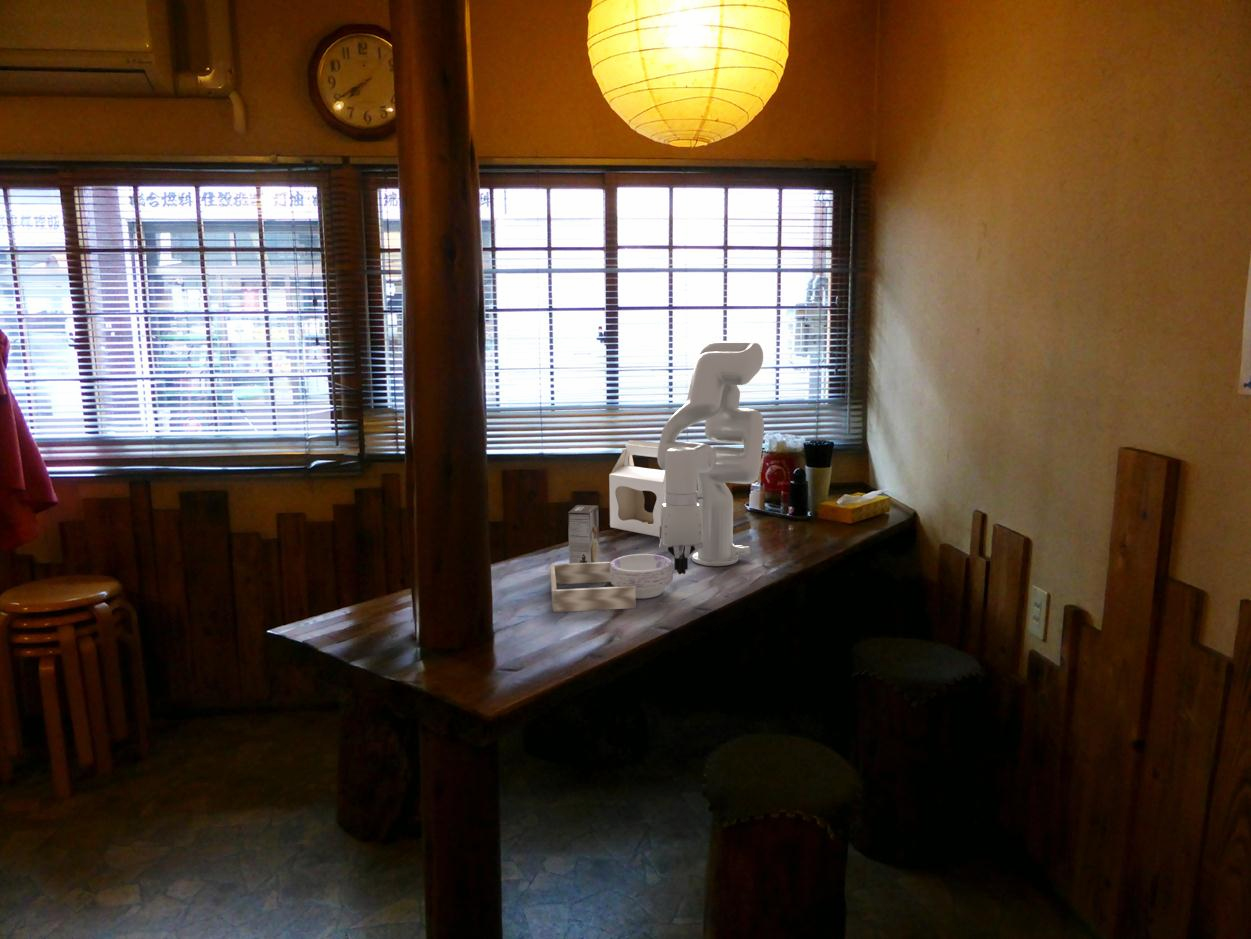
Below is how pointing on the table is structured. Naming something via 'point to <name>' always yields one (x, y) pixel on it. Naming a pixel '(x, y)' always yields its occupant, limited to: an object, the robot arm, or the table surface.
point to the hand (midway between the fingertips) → (681, 572)
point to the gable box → (636, 490)
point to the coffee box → (583, 534)
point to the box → (588, 596)
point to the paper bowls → (642, 573)
